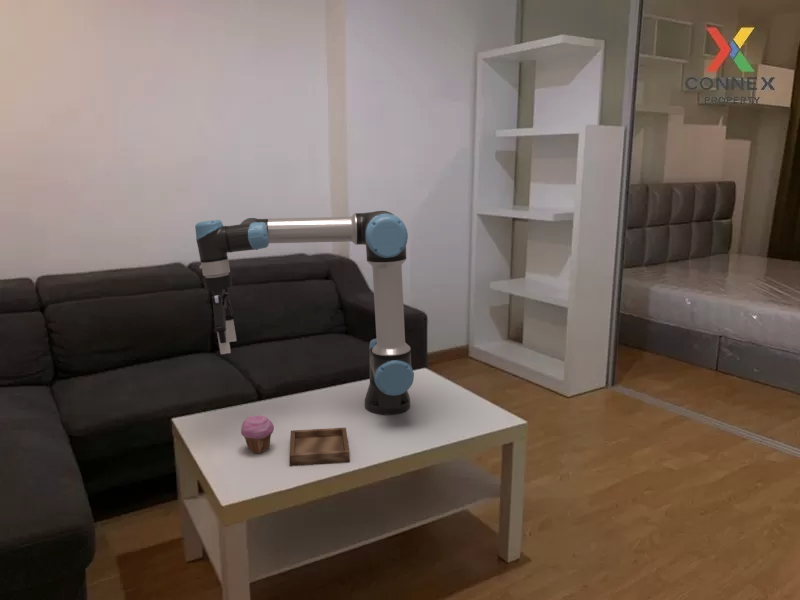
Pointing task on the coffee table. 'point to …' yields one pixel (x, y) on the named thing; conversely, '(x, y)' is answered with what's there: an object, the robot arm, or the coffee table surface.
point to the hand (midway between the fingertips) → (229, 347)
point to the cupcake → (257, 433)
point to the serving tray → (319, 446)
